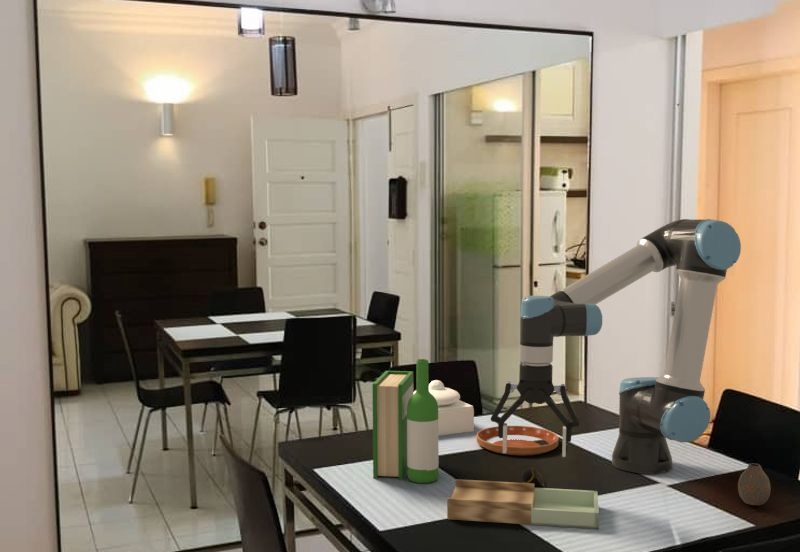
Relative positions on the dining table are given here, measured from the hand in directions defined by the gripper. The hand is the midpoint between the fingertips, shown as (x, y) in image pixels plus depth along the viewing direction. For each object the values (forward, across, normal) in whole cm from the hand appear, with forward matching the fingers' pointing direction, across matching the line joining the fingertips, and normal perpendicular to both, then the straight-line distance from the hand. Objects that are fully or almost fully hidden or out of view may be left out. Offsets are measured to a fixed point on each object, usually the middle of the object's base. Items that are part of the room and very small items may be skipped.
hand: (534, 453), depth 205 cm
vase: (+10, -50, -5) cm, 51 cm away
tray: (+10, -8, +11) cm, 17 cm away
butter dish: (+11, +32, -56) cm, 65 cm away
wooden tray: (+10, +8, +11) cm, 17 cm away
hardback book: (+11, +36, -16) cm, 41 cm away
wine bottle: (+11, +28, -8) cm, 31 cm away
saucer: (+10, +6, -42) cm, 44 cm away
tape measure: (+10, 0, 0) cm, 10 cm away
